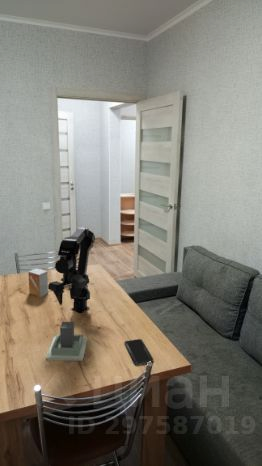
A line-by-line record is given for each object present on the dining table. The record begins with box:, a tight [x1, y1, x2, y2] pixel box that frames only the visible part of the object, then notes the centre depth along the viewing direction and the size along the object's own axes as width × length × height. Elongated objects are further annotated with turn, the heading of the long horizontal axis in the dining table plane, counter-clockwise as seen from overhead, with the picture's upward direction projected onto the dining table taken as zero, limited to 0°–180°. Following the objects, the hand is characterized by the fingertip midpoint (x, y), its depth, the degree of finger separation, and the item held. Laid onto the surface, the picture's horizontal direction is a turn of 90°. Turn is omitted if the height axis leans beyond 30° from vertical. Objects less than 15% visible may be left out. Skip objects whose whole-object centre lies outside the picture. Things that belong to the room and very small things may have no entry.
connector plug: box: [59, 321, 75, 348], centre depth 130 cm, size 5×5×10 cm
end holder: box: [45, 333, 88, 362], centre depth 131 cm, size 14×14×4 cm
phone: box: [124, 338, 154, 366], centre depth 131 cm, size 8×1×15 cm
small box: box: [27, 267, 49, 298], centre depth 177 cm, size 8×6×13 cm
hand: (69, 301), depth 144 cm, fingers open, 9 cm apart
